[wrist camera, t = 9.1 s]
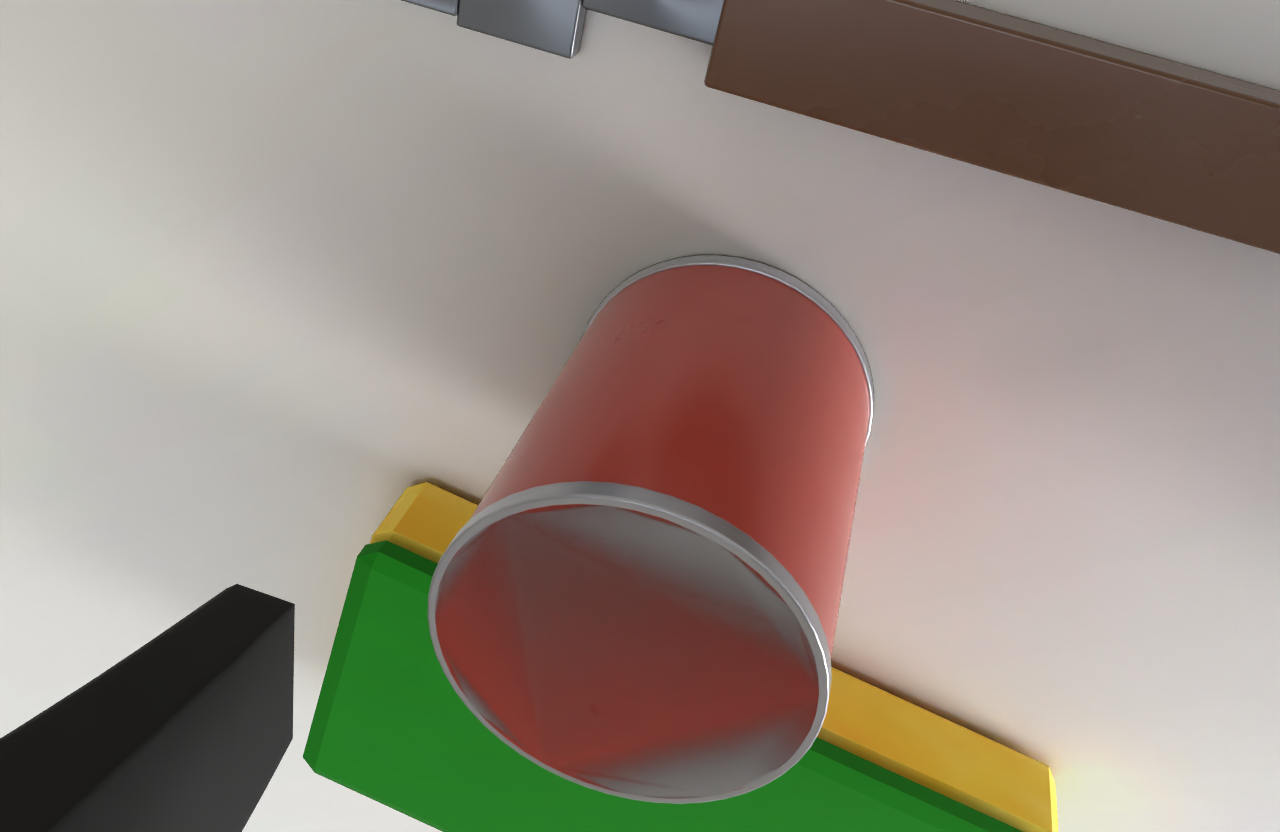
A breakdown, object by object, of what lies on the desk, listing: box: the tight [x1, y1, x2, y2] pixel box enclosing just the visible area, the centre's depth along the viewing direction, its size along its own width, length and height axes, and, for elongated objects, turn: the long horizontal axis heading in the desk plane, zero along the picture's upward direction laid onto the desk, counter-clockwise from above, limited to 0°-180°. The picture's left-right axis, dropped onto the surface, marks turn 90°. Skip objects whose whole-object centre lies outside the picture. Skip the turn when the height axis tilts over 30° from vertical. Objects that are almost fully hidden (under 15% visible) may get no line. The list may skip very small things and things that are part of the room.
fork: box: [402, 0, 1280, 254], centre depth 15 cm, size 15×2×1 cm, turn 78°
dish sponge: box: [303, 482, 1058, 832], centre depth 23 cm, size 7×14×2 cm, turn 70°
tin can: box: [428, 255, 874, 804], centre depth 16 cm, size 5×5×6 cm
